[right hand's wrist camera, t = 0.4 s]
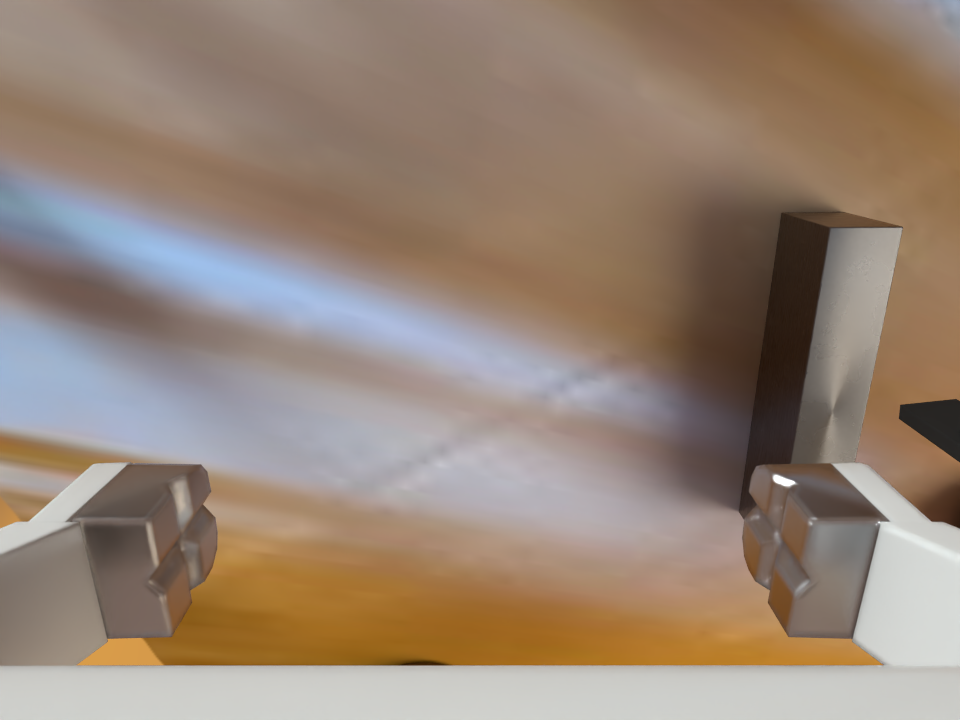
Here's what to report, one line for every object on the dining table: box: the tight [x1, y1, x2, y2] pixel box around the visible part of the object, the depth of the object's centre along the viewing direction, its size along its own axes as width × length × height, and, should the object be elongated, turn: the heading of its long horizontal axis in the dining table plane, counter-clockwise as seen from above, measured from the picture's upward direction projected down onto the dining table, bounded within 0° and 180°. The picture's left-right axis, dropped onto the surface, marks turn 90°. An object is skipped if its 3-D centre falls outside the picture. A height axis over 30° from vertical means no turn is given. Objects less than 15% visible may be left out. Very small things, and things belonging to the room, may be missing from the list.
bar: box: [739, 212, 903, 519], centre depth 54 cm, size 28×5×8 cm, turn 0°
